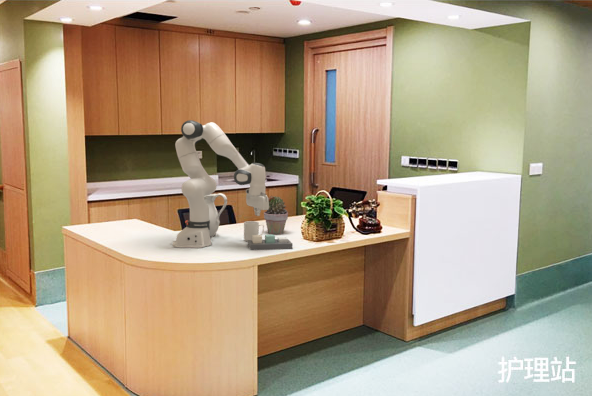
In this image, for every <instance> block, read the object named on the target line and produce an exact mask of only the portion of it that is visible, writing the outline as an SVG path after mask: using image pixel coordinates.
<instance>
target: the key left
mask: <svg viewBox="0 0 592 396" xmlns="http://www.w3.org/2000/svg"><path fill="white" fill-rule="evenodd" d="M262 240H263V235H261V234H259V235H252V242H253V243H262Z"/></svg>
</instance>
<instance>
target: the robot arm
mask: <svg viewBox="0 0 592 396" xmlns="http://www.w3.org/2000/svg"><path fill="white" fill-rule="evenodd" d="M180 132H181V134H182V136H181V137H180V138H178V139H177V140H176V141H175V144H174V145H175V150H176V156H177V158H178V161H179V164H180V166H181V167H180V168H182V172H183V173H184V174H186V175H187V176H188V177H189V178H190V179H187V180H186V181H184V182H183V183H182V185H181V193H182V195H183V196H184V197H185V198H186V200H187V202H188V206H189V207H188V208H189V219H187V220H185V221H184V223H185V226H186V227H184V228H183V229H182V230H181V231H179V232H178V233H177V235H176V239H175V240H174V241H172V247H174V248H181V249H182V248H183V249H184V248H191V249H194V248H195V249H203V248H205V247H210V246H211V245H212V244H213V243H212V240H211V237H210V231H209V230H210V220H209V207H208V205H206V203H205V200H204V196H207V195H210V194H214V193H215V191H216V190H217V182H216V180H215V179H214V178H212V177H211V176H210V175H209V174H208V173H207V170H206V169H205V168H204V166H203V165H202V163H201V160H200V158H199V155H198V151H197V150H196V144H197V145H198V143H199V142H200V141H202V140H205V141H206V143H207V145H209V147H210V148H211V150H212V151H214V152H215V154H216V155H218V156H222V157H225V158H227V159H229V160H230V161H232V163H233V164H234V166H235V167H237V170H236V171H235V172H234V173H233V180H234V182H235V183H236V185H239V186H245V185H247V186H248V185H249V188H247V189H245V194H246V195H245V203H246V205H247V206H249V207H251V208H253V211H254V216H257V217H260V216H261V212H262V211H267V210H268V209H269V200H268V198H269V197H268V195H267V193H266V189H267V188H266V180H267V179H266V178H267V177H266V175H267V174H266V167H265V165H264V164H262V163H259V162H252V163H251V164H249V163H248V162H247V161H246V159H245V158H244V157H243V156H242V154H241V153H240V152H239V151H238V149H237V148H236V147H235V146H234V145H233V143H232V142H231V140H230V139H229V137H228V136H227V135H226V133H225V132H224V131H223V129H222V128H221V127H220V126H219V125H218V124H217V123H215V122H213V121H211V122H207V123H205V124H202V123H200V122H198V121H195V120H191V119H190V120H186V121H184V122H183V123H182V125H181V127H180Z"/></svg>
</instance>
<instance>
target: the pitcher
mask: <svg viewBox="0 0 592 396" xmlns="http://www.w3.org/2000/svg"><path fill="white" fill-rule="evenodd" d="M217 197H222V199H223V202H224V203H223V206H222V207H221V209H220V210H219V211H218V210H217V208H216V205H215V201H216V199H217ZM204 200H205V203H206V205H208V207H209V220H210V230H209V231H210V238H211V237H214V236H216V234H217V232H218V230H219V227H220V224H221V221H220V216H221V214H222V213H223V211H224V210H225V209H226V208H227V204H228V198H227V196H226V194H225V193H219V192H218V193H212V194H210V195H207V196H204Z"/></svg>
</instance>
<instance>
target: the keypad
mask: <svg viewBox="0 0 592 396" xmlns="http://www.w3.org/2000/svg"><path fill="white" fill-rule="evenodd" d="M247 247H248V248H249V249H250V251H261V250H262V251H263V250H264V251H267V250H293V242H291V240H290V239H288V242H287V243H278V238H275V243H266V242H265V239H262V243H253V242H252V240H248V242H247Z"/></svg>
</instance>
